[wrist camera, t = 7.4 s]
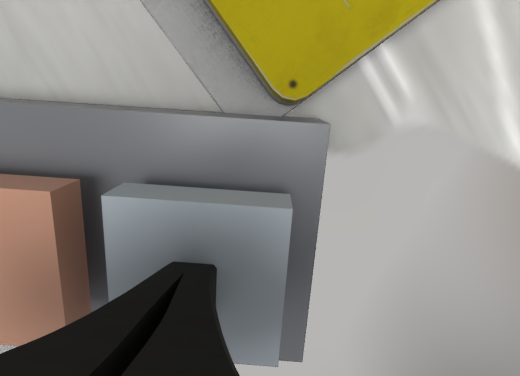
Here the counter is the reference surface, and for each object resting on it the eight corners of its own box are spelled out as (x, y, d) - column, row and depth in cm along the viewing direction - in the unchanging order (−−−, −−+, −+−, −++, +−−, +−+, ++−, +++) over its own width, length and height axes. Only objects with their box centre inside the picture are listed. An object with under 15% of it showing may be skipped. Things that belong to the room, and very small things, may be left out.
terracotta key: (125, 278, 15) (68, 349, 11) (9, 270, 15) (-93, 337, 11) (119, 162, 14) (49, 191, 9) (-10, 153, 14) (-136, 178, 9)
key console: (297, 316, 17) (302, 362, 14) (-120, 284, 17) (-199, 322, 14) (318, 118, 14) (330, 124, 11) (-176, 86, 14) (-288, 83, 12)
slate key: (276, 290, 15) (277, 367, 11) (157, 281, 15) (112, 353, 11) (286, 174, 13) (292, 209, 9) (154, 165, 14) (100, 195, 9)
